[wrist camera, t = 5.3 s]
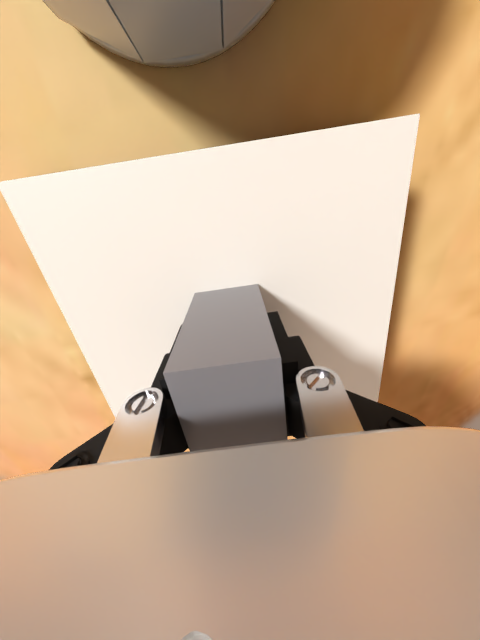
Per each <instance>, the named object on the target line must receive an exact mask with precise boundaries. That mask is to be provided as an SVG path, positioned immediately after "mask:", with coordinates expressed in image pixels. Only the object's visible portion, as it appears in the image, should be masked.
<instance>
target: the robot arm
mask: <svg viewBox="0 0 480 640" xmlns="http://www.w3.org/2000/svg"><path fill="white" fill-rule="evenodd" d="M267 315H268V318H269V321H270V324H271V327H272V331H273V334H274V337H275V340H276V343H277V346H278V350H279V353H280V356H281V364H282V376H283V389H284V402H285V415H286V427H287V436H293V437H295V438H297V439H290V440H281V441H273V442H264V443H256V444H247V445H239V446H231V447H223V448H214V449H206V450H198V451H190V452H184V451H185V450H186V449H187V448H189V447H188V444H187V441H186V438H185V435H184V433H183V430H182V427H181V424H180V421H179V418H178V415H177V412H176V410H175V407H174V404H173V401H172V398H171V395H170V392H169V389H168V387H167V384H166V381H165V378H164V375H163V372H164V369H165V367H166V364H167V362H168V359H169V357H170V354H171V352H172V349H173V347H174V344H175V342H176V339H177V337H178V334H179V332H180V329H181V326H182V325H181V326H180V328H179V331H178V333H177V336H176V338H175V341H174V343H173V346H172V348H171V351H170V353H167V354H165V356H164V358H163V360H162V362H161V365H160V367H159V369H158V372H157V374H156V376H155V378H154V381H153V383H152V385H151V388H145V389H141V390H139V391H137V392H135V393H133V394H132V395H130V396H129V397H128V398H127V399H126V400H125V401H124V402H123V403H122V405H121V407H120V409H119V412H118V414H117V416H116V419H115V421H114V424H112V425H111V426H109V427H108V428H106V429H105V430H103V431H102V432H100V433H99V434H97V435H96V436H94V437H93V438H91V439H90V440H88V441H87V442H85V443H84V444H82V445H81V446H79V447H78V448H76V449H75V450H73V451H72V452H70V453H69V454H67V455H66V456H64V457H63V458H62V459H60V460H59V461H58V462H56V463H55V464H54V465H53V466H52V467H51V468H50V469H49V470H48V471H42V472H36V473H30V474H24V475H19V476H14V477H10V478H6V479H2V480H0V640H480V430H475V429H470V428H458V427H446V426H426V425H425V424H423V423H422V422H421V421H419V420H418V419H416V418H414V417H412V416H410V415H408V414H406V413H403V412H400V411H398V410H395V409H393V408H390V407H388V406H385V405H383V404H380V403H378V402H375V401H373V400H370V399H368V398H365V397H363V396H360V395H358V394H355V393H353V392H350V391H348V390H345V388H344V386H343V383H342V381H341V379H340V377H339V376H338V374H337V373H335V372H334V371H333V370H331V369H329V368H326V367H321V366H315V365H314V363H313V361H312V359H311V357H310V355H309V353H308V351H307V349H306V347H305V345H304V343H303V342H302V340H301V338H300V336H291V337H288V335H287V333H286V331H285V328H284V326H283V323H282V321H281V319H280V316H279V314H278V311H275V312H268V313H267Z"/></svg>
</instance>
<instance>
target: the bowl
mask: <svg viewBox="0 0 480 640" xmlns="http://www.w3.org/2000/svg"><path fill="white" fill-rule="evenodd" d="M274 1H275V0H43V2H44V3H45V4H46V5H47V6H48V7H49V8H50V9H51V10H52V12H53V13H54V14H55V15H56V16H57V17H58V18H59V19H61V20H63V21H65V22H67V23H68V24H70V25H72V26H74V27H75V28H76V29H78V30H79V31H80V32H81V33H83V34H84V35H85V36H86V37H88V38H89V39H90V40H92V41H93V42H95V43H96V44H98V45H100V46H101V47H103V48H105V49H106V50H108V51H110V52H111V53H114V54H116V55H118V56H121V57H123V58H125V59H127V60H130V61H133V62H137V63H141V64H144V65H148V66H157V67H167V68H170V67H182V66H189V65H193V64H197V63H201V62H204V61H207V60H209V59H211V58H213V57H215V56H218V55H220V54H222V53H223V52H225V51H226V50H228V49H229V48H231V47H232V46H234V45H235V44H237V43H238V42H239V41H240V40H242V39H243V38H244V37H245V36H246V35H247V34H248V33H249V32H250V31H251V30H252V29H253V28H254V27H255V26H256V25H257V24H258V23H259V21H260V20H261V19H262V18H263V17H264V15H265V14H266V13H267V12H268V11H269V9H270V8H271V6H272V4H273V3H274Z"/></svg>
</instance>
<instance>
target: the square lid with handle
mask: <svg viewBox="0 0 480 640" xmlns="http://www.w3.org/2000/svg"><path fill="white" fill-rule="evenodd" d="M419 116H420V114H414V115H408V116H402V117H395V118H389V119H383V120H377V121H371V122H365V123H359V124H352V125H346V126H340V127H334V128H328V129H322V130H316V131H309V132H303V133H297V134H291V135H285V136H279V137H273V138H266V139H260V140H254V141H248V142H242V143H236V144H230V145H223V146H217V147H211V148H205V149H199V150H193V151H187V152H180V153H174V154H168V155H162V156H156V157H150V158H144V159H137V160H131V161H125V162H119V163H113V164H107V165H101V166H94V167H88V168H82V169H76V170H70V171H64V172H57V173H51V174H45V175H39V176H33V177H27V178H21V179H14V180H8V181H2V182H0V190H1V192H2V194H3V196H4V198H5V200H6V202H7V204H8V206H9V208H10V210H11V212H12V214H13V216H14V218H15V220H16V222H17V224H18V226H19V228H20V230H21V232H22V234H23V236H24V238H25V240H26V242H27V244H28V246H29V248H30V250H31V252H32V254H33V256H34V258H35V260H36V262H37V264H38V265H39V267H40V269H41V271H42V273H43V275H44V277H45V279H46V281H47V283H48V285H49V287H50V289H51V291H52V293H53V295H54V297H55V299H56V301H57V303H58V305H59V307H60V309H61V311H62V313H63V315H64V317H65V319H66V321H67V323H68V325H69V327H70V329H71V331H72V333H73V335H74V337H75V339H76V341H77V343H78V345H79V347H80V349H81V351H82V353H83V355H84V357H85V359H86V361H87V363H88V364H89V366H90V368H91V370H92V372H93V374H94V376H95V378H96V380H97V382H98V384H99V386H100V388H101V390H102V392H103V394H104V396H105V398H106V400H107V402H108V404H109V406H110V408H111V410H112V412H113V414H114V416H115V418H116V416H117V414H118V412H119V409H120V407H121V405H122V403H123V402H124V401H125V400H126V399H127V398H128V397H129V396H130V395H132V394H133V393H135V392H137V391H139V390H141V389H145V388H151V385H152V383H153V381H154V378H155V376H156V374H157V372H158V369H159V367H160V365H161V362H162V360H163V358H164V356H165V354H167V353H170V351H171V348H172V346H173V343H174V341H175V338H176V336H177V333H178V331H179V328H180V326H181V325H182V326H181V329H180V332H179V334H178V337H177V339H176V342H175V344H174V347H173V349H172V352H171V354H170V357H169V359H168V362H167V364H166V367H165V369H164V372H163V375H164V378H165V381H166V384H167V387H168V389H169V392H170V395H171V398H172V401H173V404H174V407H175V410H176V412H177V415H178V418H179V421H180V424H181V427H182V430H183V433H184V435H185V438H186V441H187V444H188V447H189V450H190V451H198V450H206V449H214V448H223V447H231V446H239V445H247V444H256V443H264V442H273V441H281V440H287V427H286V415H285V402H284V389H283V376H282V364H281V356H280V353H279V350H278V346H277V343H276V340H275V337H274V334H273V331H272V327H271V324H270V321H269V318H268V315H267V313H268V312H275V311H278V314H279V316H280V319H281V321H282V323H283V326H284V328H285V331H286V333H287V335H288V337H291V336H300V338H301V340H302V342H303V343H304V345H305V347H306V349H307V351H308V353H309V355H310V357H311V359H312V361H313V363H314V365H315V366H321V367H326V368H329V369H331V370H333V371H334V372H335V373H337V374H338V376H339V377H340V379H341V381H342V383H343V386H344V388H345V390H348V391H350V392H353V393H355V394H358V395H360V396H363V397H365V398H368V399H370V400H373V401H375V402H378V397H379V390H380V383H381V377H382V370H383V363H384V356H385V349H386V342H387V336H388V329H389V322H390V315H391V308H392V301H393V294H394V288H395V281H396V274H397V267H398V260H399V253H400V247H401V240H402V233H403V226H404V219H405V212H406V205H407V199H408V192H409V185H410V178H411V171H412V164H413V158H414V151H415V144H416V137H417V130H418V123H419Z"/></svg>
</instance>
